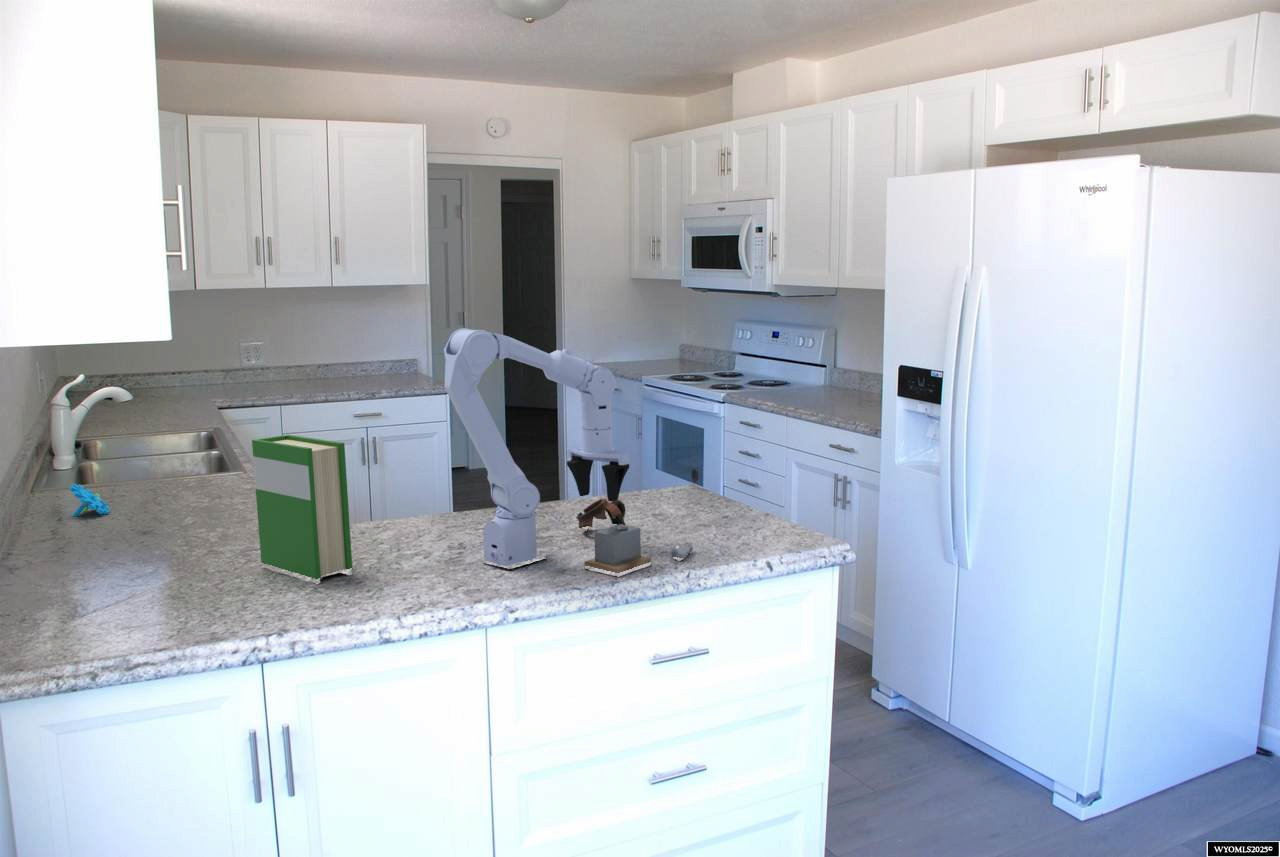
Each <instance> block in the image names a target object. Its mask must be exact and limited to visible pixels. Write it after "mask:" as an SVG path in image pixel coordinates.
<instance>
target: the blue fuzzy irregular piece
mask: <svg viewBox="0 0 1280 857" xmlns="http://www.w3.org/2000/svg"><path fill="white" fill-rule="evenodd" d="M84 488H85V487H84V485H82V484H78V485H77V484H76V483H72V484H71V485H70V488H69V491H71V492H72V495H73V496H74V497H75V498H78V499H79V502H80V503H81V504H80V505H79V507H78V508H77V509H76V510H75V511H74V512H73V513H72V515H73V516H74V517H78V516H79V515H80V514H81V513H82V512H84V513H86V512H87V511H88V510H89V509H91V510H92V511H94V510H95V509H96V513H98V514H100V515H102V514H103V515H106V514H107V515H108V514H109V513H110V510H111V508H110V507H109V506H107V505H108V504H107V502H106V501H104V500H102V499H101V497H100V494H99V493H97V492H96V493H95V494H93V491H92V490H90V489H89V488H88V487H87V488H86V489H84Z"/></svg>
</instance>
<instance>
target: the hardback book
mask: <svg viewBox="0 0 1280 857" xmlns="http://www.w3.org/2000/svg"><path fill="white" fill-rule="evenodd" d="M251 445H252V461H253V470H254V471H253V472H254V484H255V485H254V486H255V499H256V513H257V524H258V535H259V546H260V562H261V563H264V564H268V565H272V566H275V567H278V568H281V569H285V570H288V571H291V572H295V573H299V574H301V575H305V576H308V577H312V578H315V579H318V578H321V576H323V575H326V574H330V573H333V572H336V571H339V570H343V569H350V568H352V569H353V558H352V541H351V527H350V513H349V496H348V481H347V463H346V448H345V443H344V442H341V441H333V440H326V439H321V438H313V437H308V436H307V437H306V436H299V435H293V434H284V435H283V434H282V435H278V436H277V435H276V436H271V437H263V438H257V439H251ZM261 563H260V564H261Z"/></svg>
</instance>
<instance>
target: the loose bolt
mask: <svg viewBox="0 0 1280 857" xmlns="http://www.w3.org/2000/svg"><path fill="white" fill-rule="evenodd" d="M692 550H693V551H694V546H693V545H692V544H691V543H686V544H685V545H681V544H678V545H676V546H674V548H672V550H671V552H670V553H671V557H672V558H673V557H677V558H678V557H679V558H685V559H686V558H687V557H688V556H687V554H689V553H690V552H691V551H692ZM693 551H692V552H693ZM692 552H691V553H692ZM691 553H690V554H691ZM690 554H689V555H690Z"/></svg>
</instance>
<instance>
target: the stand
mask: <svg viewBox="0 0 1280 857" xmlns="http://www.w3.org/2000/svg"><path fill="white" fill-rule="evenodd" d="M649 562H651V563H652V557H648V556H643V555H641V558H638V559H635V560H632V561H629V562H626V563H623V564H620V565H617V566H611V565H607V564H602V563H598V562H595V557H594V558H591V559H588V560H584V567H585V566H590V567H594V568H598V569H603V570H606V571H611V572H615V573H620V572H623V571H626V570H629V569H632V568H634V567H637V566H640V565H643V564H646V563H649Z"/></svg>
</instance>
